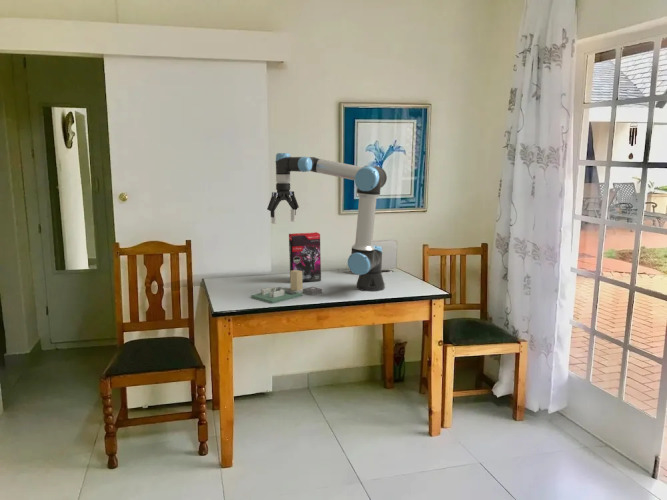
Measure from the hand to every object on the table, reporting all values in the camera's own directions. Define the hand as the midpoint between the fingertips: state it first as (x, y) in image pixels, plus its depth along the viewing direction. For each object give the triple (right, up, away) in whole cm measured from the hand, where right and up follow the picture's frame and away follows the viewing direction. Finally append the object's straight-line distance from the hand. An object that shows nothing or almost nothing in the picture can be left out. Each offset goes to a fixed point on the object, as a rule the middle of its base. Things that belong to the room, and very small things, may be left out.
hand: (283, 222), depth 286 cm
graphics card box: (+11, -33, +16) cm, 38 cm away
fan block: (+16, -37, -11) cm, 42 cm away
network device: (+53, -29, +39) cm, 72 cm away
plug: (+7, -36, -4) cm, 37 cm away
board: (-1, -38, -19) cm, 43 cm away
